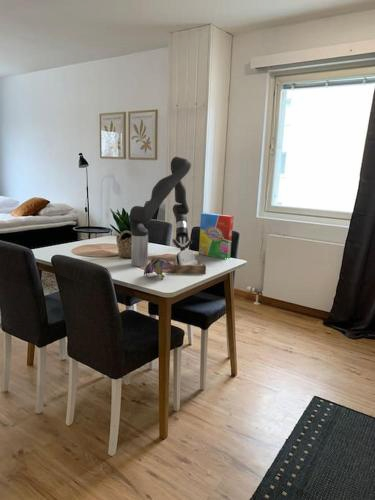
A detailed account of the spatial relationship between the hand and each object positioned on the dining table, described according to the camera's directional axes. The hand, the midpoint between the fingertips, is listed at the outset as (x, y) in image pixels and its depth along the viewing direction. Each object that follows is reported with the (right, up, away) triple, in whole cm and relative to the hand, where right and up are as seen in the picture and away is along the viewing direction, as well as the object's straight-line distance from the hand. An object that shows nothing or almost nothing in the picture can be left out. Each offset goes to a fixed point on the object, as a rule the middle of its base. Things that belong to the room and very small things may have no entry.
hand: (182, 253), depth 225 cm
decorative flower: (-13, -12, -37) cm, 41 cm away
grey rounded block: (+2, -7, -10) cm, 13 cm away
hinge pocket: (+4, -10, -24) cm, 26 cm away
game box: (+20, -2, +15) cm, 26 cm away
